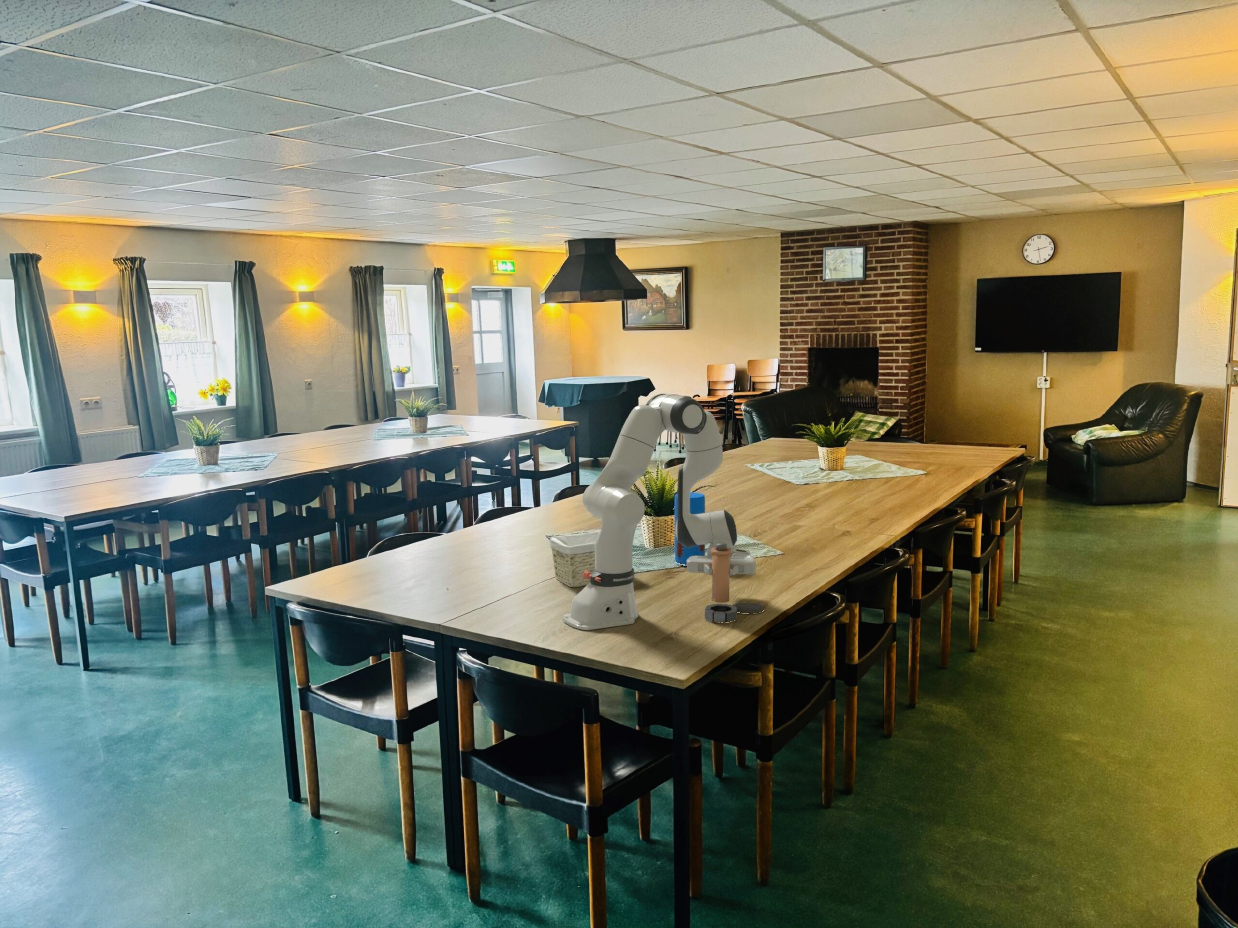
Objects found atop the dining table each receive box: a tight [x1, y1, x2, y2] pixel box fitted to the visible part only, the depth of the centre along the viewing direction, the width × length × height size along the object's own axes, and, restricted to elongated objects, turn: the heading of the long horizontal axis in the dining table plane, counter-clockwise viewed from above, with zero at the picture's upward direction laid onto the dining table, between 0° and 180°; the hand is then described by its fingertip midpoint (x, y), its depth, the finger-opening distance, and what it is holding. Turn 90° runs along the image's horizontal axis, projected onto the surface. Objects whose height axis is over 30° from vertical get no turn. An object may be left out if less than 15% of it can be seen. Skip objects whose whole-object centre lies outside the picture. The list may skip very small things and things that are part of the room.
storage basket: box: [549, 530, 601, 588], centre depth 298 cm, size 24×16×15 cm
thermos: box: [674, 492, 706, 565], centre depth 316 cm, size 11×11×25 cm
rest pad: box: [731, 602, 766, 614], centre depth 264 cm, size 10×10×1 cm
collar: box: [704, 603, 738, 624], centre depth 255 cm, size 9×9×3 cm
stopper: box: [711, 543, 732, 604], centre depth 253 cm, size 6×6×17 cm
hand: (720, 572), depth 253 cm, fingers closed on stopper, 5 cm apart
